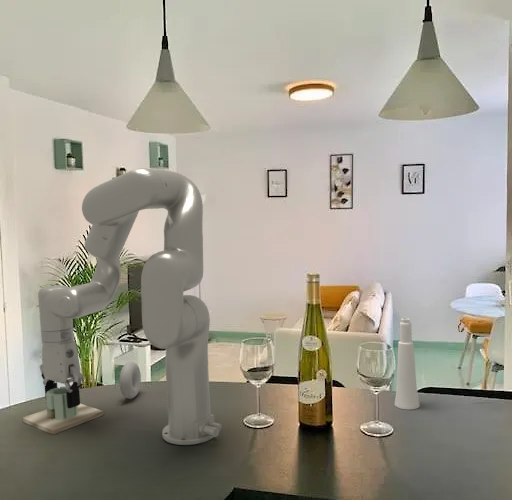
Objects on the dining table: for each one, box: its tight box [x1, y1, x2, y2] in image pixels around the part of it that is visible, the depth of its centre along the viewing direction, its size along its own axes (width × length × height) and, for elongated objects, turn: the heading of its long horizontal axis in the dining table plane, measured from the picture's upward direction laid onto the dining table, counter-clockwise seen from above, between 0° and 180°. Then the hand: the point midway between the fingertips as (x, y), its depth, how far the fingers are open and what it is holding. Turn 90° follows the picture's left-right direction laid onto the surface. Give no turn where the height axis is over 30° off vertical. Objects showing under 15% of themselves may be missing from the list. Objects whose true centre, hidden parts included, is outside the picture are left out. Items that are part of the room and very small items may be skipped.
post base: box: [21, 393, 104, 435], centre depth 134 cm, size 14×14×6 cm
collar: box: [45, 385, 78, 420], centre depth 133 cm, size 7×7×6 cm
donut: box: [119, 361, 142, 400], centre depth 146 cm, size 10×4×10 cm, turn 172°
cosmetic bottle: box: [394, 317, 421, 411], centre depth 132 cm, size 6×6×22 cm
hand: (62, 402), depth 133 cm, fingers open, 9 cm apart
